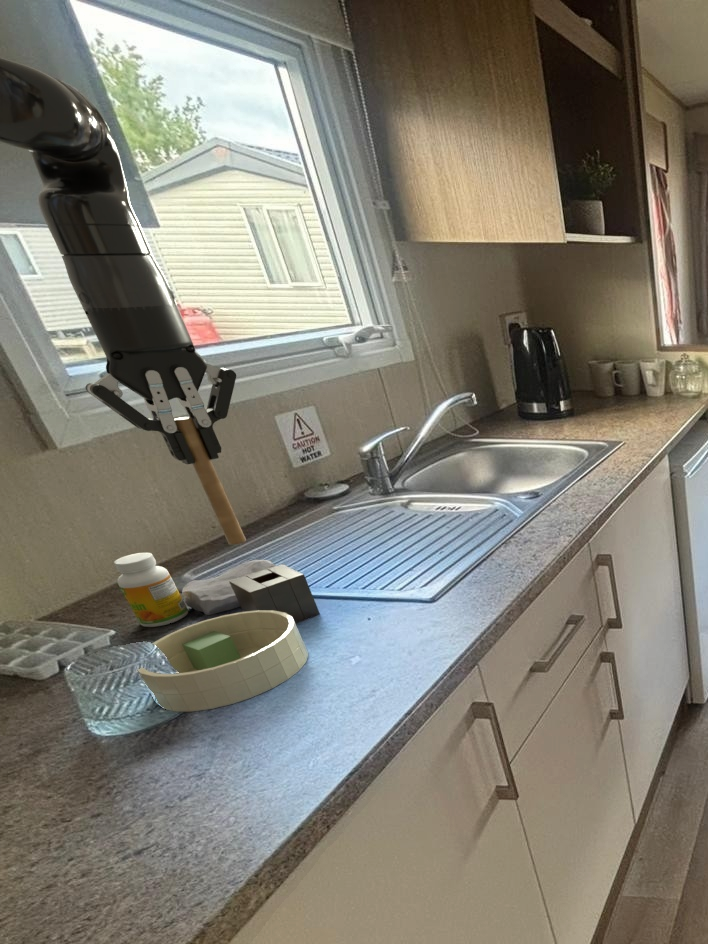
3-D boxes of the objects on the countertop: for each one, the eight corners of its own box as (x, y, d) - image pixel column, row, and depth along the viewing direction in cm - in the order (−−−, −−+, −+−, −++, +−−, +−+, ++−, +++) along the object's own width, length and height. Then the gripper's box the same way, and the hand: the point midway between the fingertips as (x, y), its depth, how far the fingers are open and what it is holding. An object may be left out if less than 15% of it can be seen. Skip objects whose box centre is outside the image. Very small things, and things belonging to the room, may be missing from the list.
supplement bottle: (131, 625, 94) (96, 563, 89) (173, 607, 98) (141, 548, 94) (157, 630, 92) (123, 568, 88) (198, 612, 97) (167, 552, 92)
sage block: (211, 674, 81) (198, 650, 80) (194, 668, 83) (181, 644, 81) (242, 660, 84) (230, 636, 83) (225, 654, 86) (213, 630, 84)
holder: (270, 637, 90) (249, 592, 87) (249, 625, 94) (228, 581, 90) (321, 617, 95) (304, 574, 92) (300, 606, 99) (282, 563, 95)
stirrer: (232, 545, 83) (175, 420, 75) (226, 542, 83) (169, 419, 76) (248, 541, 84) (194, 417, 77) (242, 538, 85) (188, 416, 77)
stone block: (306, 599, 104) (271, 574, 108) (297, 574, 101) (261, 550, 105) (219, 635, 95) (184, 607, 99) (206, 608, 93) (171, 580, 96)
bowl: (186, 732, 73) (162, 691, 70) (137, 689, 80) (114, 651, 77) (332, 666, 84) (317, 629, 81) (277, 634, 91) (262, 600, 88)
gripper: (194, 298, 77) (253, 443, 86) (30, 305, 67) (115, 470, 75) (220, 299, 74) (279, 451, 82) (50, 308, 64) (137, 480, 72)
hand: (200, 460), depth 79 cm, fingers closed on stirrer, 2 cm apart
